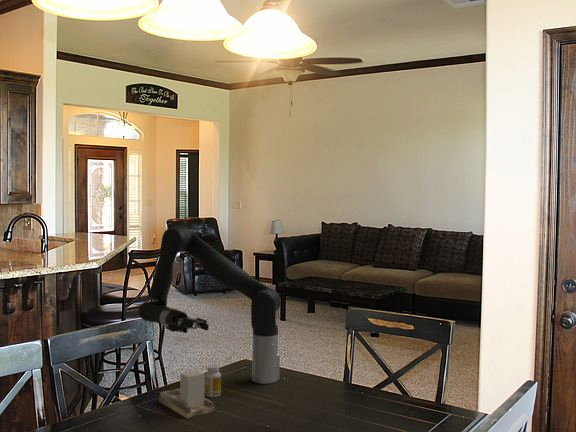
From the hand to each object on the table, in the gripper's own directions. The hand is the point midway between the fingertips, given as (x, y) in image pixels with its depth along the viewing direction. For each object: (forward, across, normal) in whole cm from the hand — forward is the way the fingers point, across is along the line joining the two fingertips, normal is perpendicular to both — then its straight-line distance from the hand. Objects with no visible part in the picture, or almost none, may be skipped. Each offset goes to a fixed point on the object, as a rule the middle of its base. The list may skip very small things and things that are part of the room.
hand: (197, 328), depth 216 cm
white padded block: (+19, -13, +19) cm, 30 cm away
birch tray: (+16, -13, +20) cm, 29 cm away
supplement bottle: (+11, 0, +20) cm, 23 cm away
